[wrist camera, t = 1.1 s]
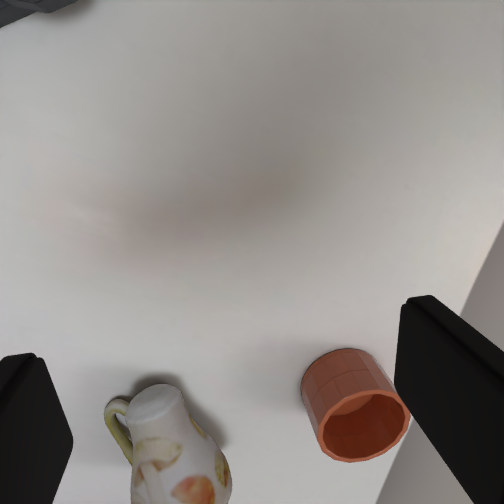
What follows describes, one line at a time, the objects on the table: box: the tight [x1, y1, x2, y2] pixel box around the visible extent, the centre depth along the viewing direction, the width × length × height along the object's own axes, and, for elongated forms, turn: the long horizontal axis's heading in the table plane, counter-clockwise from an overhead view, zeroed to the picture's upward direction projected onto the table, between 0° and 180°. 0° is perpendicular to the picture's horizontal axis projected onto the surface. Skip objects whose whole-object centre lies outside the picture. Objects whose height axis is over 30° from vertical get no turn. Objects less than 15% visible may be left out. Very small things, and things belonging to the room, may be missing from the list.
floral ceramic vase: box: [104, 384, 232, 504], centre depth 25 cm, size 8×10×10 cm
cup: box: [301, 349, 411, 463], centre depth 27 cm, size 7×7×4 cm
